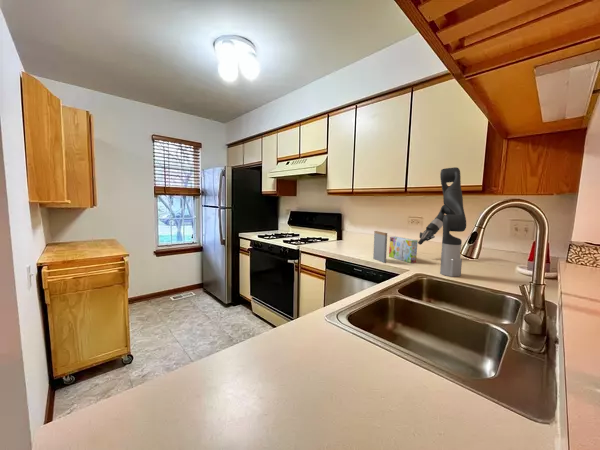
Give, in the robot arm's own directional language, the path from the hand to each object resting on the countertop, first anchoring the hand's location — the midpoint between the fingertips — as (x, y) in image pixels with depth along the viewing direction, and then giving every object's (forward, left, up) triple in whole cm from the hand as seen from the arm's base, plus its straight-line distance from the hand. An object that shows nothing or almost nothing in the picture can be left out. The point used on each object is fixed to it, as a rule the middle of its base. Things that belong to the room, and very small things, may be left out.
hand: (419, 243), depth 184 cm
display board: (0, +31, -11) cm, 33 cm away
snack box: (0, +14, -11) cm, 18 cm away
